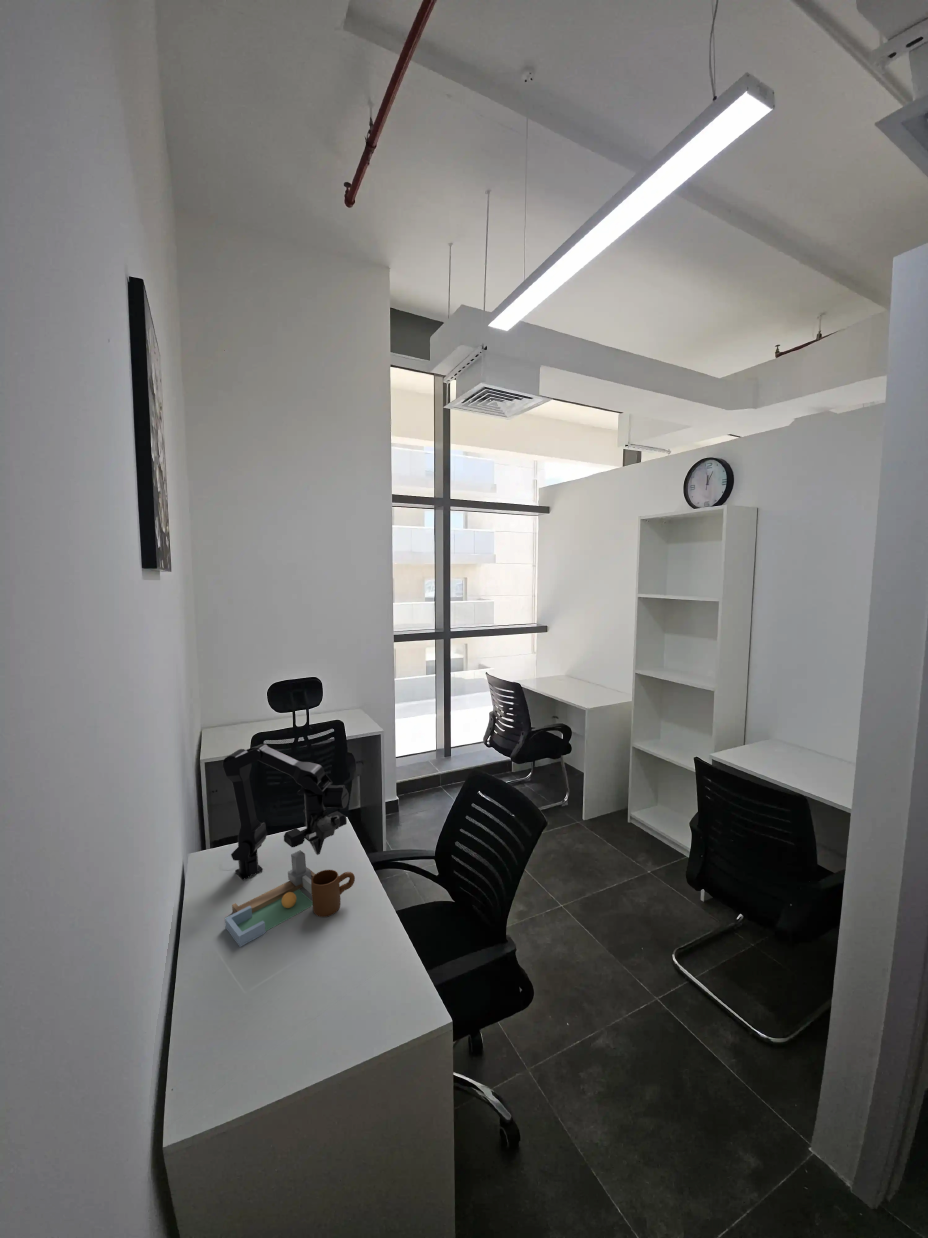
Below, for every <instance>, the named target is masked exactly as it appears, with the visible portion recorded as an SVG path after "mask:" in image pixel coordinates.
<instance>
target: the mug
mask: <svg viewBox="0 0 928 1238" xmlns="http://www.w3.org/2000/svg"><path fill="white" fill-rule="evenodd" d="M347 878H349V879H348V881H347V882H346V883H343V884H341V885H340V883H341V882H343V881H344V880H346V879H347ZM355 879H356V877H355V874H354V873H353V872H352V871H344V872H343V873H342V874H340V875H339V872H338V871H336V870H333V869H324V870H320V871H319V872H317V873H315V875H314V876H313V877H312V880H311V890H312V894H311V901H312V903H313V906H312V910H313V913H314V914H315V916H317V917H321V918H325V917H326V918H327V917H329V916H332V915H334V914H335V913H337V912H338V910H340V907H341V895H342V894H343V893H344V892H345V891H347V890H349V889H351V887H352V886H354V884H355Z"/></svg>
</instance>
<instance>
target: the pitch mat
mask: <svg viewBox="0 0 928 1238" xmlns="http://www.w3.org/2000/svg"><path fill="white" fill-rule="evenodd" d="M293 893H294V894H295V895H296V903H295V904H294V906H293V907H291V908H285V907H283V905H282V898H280V899H278V900H276V901H274V902H273V903H271V904H269V905H267V906H265V907H263V908H261V909H259V910H257V911H255V912H253V913H252V917H251V918H249V919H248V920H246V921H244V922H242V923H240V924H238V925H237V926H238V927H239V928H240V930H241V931H244V930H246V929H248V928H250V927H252V926H254V925H256V924H257V923H259V922H261V921H264V922H265V931H266V932H267V931H269V930H271V929H273V928H274V927H277V926H279V925H280V924H281V923H284V922H286V921H288V920H289V919H291V918H292V917H294V916H296V915H298V914H300V913H302V912H303V911H305V910H307V909H308V908H311V907H313V903H312V899H311V898H309V897H308V895H306V894H305V893H304V892H303V891H302V890H301V889H298V890H296V891H294V892H293Z"/></svg>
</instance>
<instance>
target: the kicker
mask: <svg viewBox="0 0 928 1238" xmlns="http://www.w3.org/2000/svg"><path fill="white" fill-rule="evenodd" d="M290 856H291V869H290V870H288V871H287V877H288V881H291V882H292V883H293V884H294V885H295V886H298V885H300V884H301V883H303V887H302V888H304V889H305V890H306V891H307V892H309V894H311V895H312V890H311V871H312V870H311V869H310V868H309V867H307V864H306V853H305V852H304V851H302V850H297V851H295V852H294V853H291V854H290ZM308 868H309V869H310V870H309V869H308Z"/></svg>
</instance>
